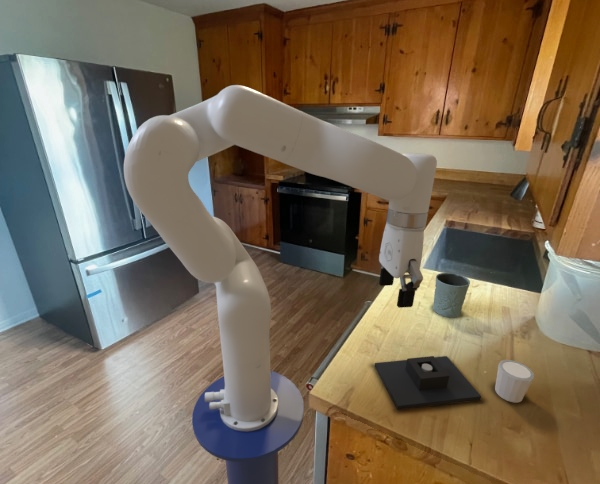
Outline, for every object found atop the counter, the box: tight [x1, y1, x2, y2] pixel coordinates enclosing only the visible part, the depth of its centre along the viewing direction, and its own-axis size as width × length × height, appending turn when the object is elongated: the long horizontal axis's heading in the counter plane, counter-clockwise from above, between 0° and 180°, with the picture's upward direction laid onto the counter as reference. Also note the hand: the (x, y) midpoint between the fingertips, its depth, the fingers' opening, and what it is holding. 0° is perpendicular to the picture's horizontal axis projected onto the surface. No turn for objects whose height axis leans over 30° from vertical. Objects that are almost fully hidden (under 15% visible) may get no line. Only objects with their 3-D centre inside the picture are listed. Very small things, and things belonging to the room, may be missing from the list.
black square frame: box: [405, 355, 449, 391], centre depth 79 cm, size 7×7×4 cm
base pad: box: [374, 355, 482, 411], centre depth 79 cm, size 20×14×5 cm
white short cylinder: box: [494, 359, 535, 404], centre depth 76 cm, size 7×7×7 cm
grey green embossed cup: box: [432, 272, 471, 318], centre depth 108 cm, size 10×10×12 cm
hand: (394, 295), depth 71 cm, fingers open, 9 cm apart
